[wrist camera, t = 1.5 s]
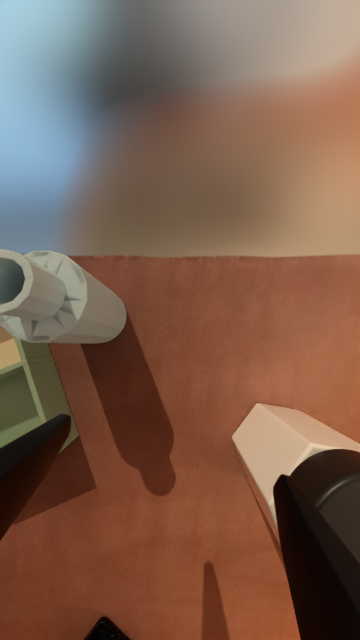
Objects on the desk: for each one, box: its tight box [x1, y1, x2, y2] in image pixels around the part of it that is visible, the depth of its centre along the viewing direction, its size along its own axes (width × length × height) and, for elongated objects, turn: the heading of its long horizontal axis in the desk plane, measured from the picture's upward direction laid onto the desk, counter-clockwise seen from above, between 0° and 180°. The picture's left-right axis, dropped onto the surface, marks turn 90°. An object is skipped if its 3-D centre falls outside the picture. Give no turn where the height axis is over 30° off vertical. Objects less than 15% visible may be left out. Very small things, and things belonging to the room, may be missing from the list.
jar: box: [232, 403, 360, 563], centre depth 16 cm, size 9×8×12 cm
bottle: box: [0, 250, 126, 344], centre depth 17 cm, size 6×6×13 cm
